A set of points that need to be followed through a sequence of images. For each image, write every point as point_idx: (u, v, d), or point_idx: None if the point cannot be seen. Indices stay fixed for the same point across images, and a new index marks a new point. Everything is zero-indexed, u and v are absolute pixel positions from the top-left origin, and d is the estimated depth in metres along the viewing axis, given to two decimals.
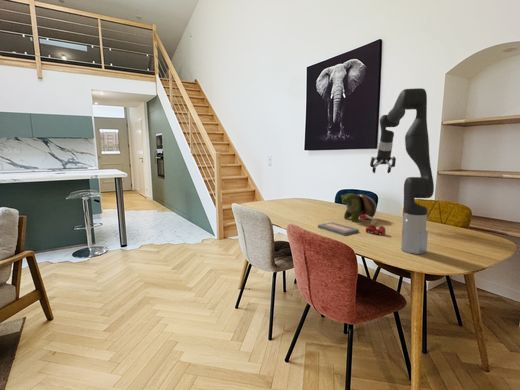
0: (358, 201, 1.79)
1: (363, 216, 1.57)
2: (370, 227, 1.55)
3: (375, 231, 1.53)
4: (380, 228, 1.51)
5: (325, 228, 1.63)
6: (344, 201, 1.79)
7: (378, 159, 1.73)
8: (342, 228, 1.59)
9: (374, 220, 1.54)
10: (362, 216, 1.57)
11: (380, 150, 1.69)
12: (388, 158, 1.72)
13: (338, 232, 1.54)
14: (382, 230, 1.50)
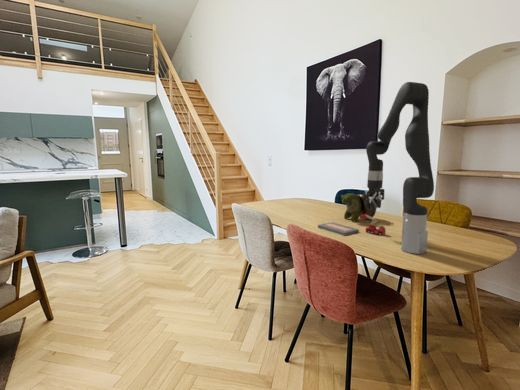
0: (358, 201, 1.79)
1: (363, 216, 1.57)
2: (370, 227, 1.55)
3: (375, 231, 1.53)
4: (380, 228, 1.51)
5: (325, 228, 1.63)
6: (344, 201, 1.79)
7: (372, 192, 1.50)
8: (342, 228, 1.59)
9: (374, 220, 1.54)
10: (362, 216, 1.57)
11: (374, 180, 1.48)
12: (379, 190, 1.53)
13: (338, 232, 1.54)
14: (382, 230, 1.50)
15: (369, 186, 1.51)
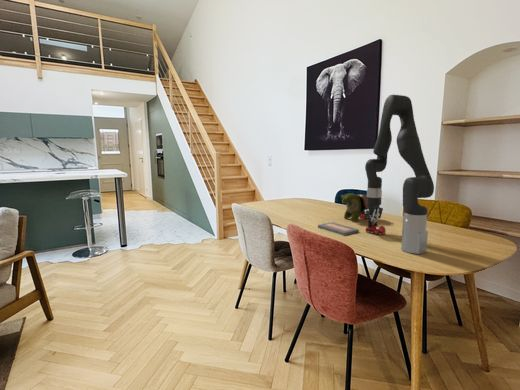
0: (358, 201, 1.79)
1: (363, 216, 1.56)
2: None
3: (375, 231, 1.53)
4: (380, 228, 1.51)
5: (325, 228, 1.63)
6: (344, 201, 1.79)
7: (371, 209, 1.51)
8: (342, 228, 1.59)
9: (374, 220, 1.54)
10: (362, 216, 1.57)
11: (373, 198, 1.50)
12: (378, 207, 1.54)
13: (338, 232, 1.54)
14: (382, 230, 1.50)
15: (368, 203, 1.52)
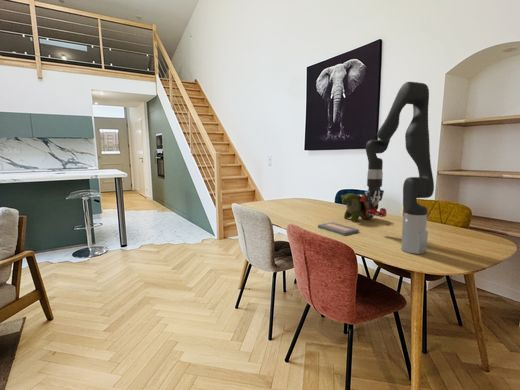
0: (358, 201, 1.79)
1: (364, 198, 1.55)
2: None
3: (376, 213, 1.51)
4: (381, 210, 1.49)
5: (325, 228, 1.63)
6: (344, 201, 1.79)
7: (372, 190, 1.50)
8: (342, 228, 1.59)
9: (375, 202, 1.52)
10: (363, 198, 1.55)
11: (374, 179, 1.48)
12: (379, 189, 1.53)
13: (338, 232, 1.54)
14: (383, 212, 1.49)
15: (369, 185, 1.50)
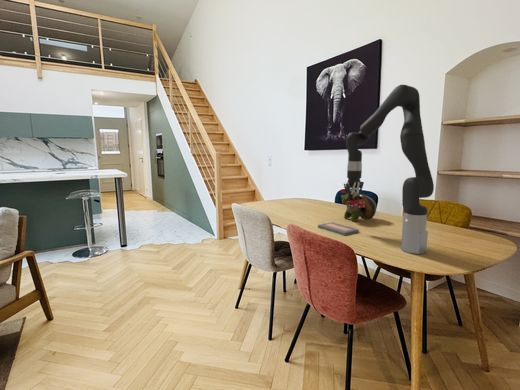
0: (358, 201, 1.79)
1: (344, 190, 1.59)
2: None
3: (355, 204, 1.55)
4: (360, 201, 1.53)
5: (325, 228, 1.63)
6: (344, 201, 1.79)
7: (351, 182, 1.54)
8: (342, 228, 1.59)
9: (354, 193, 1.56)
10: (343, 190, 1.59)
11: (353, 171, 1.52)
12: (358, 180, 1.56)
13: (338, 232, 1.54)
14: (361, 203, 1.53)
15: (348, 176, 1.54)
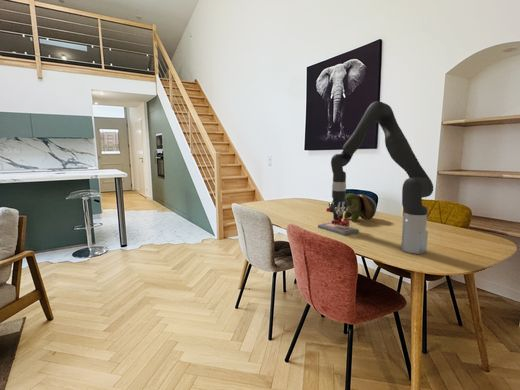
0: (358, 201, 1.79)
1: (329, 209, 1.63)
2: None
3: (340, 223, 1.60)
4: (344, 220, 1.57)
5: (325, 228, 1.63)
6: None
7: (336, 202, 1.58)
8: (342, 228, 1.59)
9: (339, 213, 1.60)
10: (328, 209, 1.64)
11: (337, 191, 1.56)
12: (343, 200, 1.61)
13: (338, 232, 1.54)
14: (346, 222, 1.57)
15: (333, 196, 1.58)
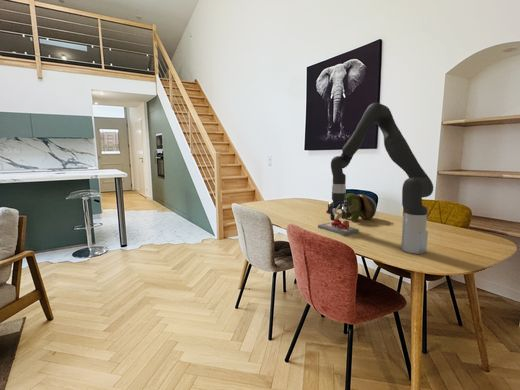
0: (358, 201, 1.79)
1: None
2: (335, 221, 1.61)
3: (340, 225, 1.60)
4: (344, 222, 1.57)
5: (325, 228, 1.63)
6: None
7: (335, 204, 1.58)
8: (342, 228, 1.59)
9: (339, 215, 1.60)
10: None
11: (337, 193, 1.56)
12: (343, 202, 1.61)
13: (338, 232, 1.54)
14: (346, 224, 1.57)
15: (333, 198, 1.59)
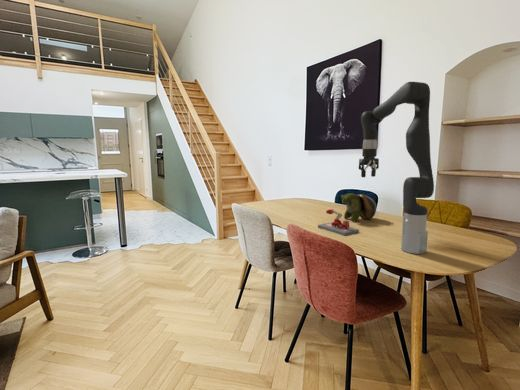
0: (358, 201, 1.79)
1: (329, 211, 1.63)
2: (335, 221, 1.61)
3: (340, 225, 1.60)
4: (344, 222, 1.57)
5: (325, 228, 1.63)
6: (344, 201, 1.79)
7: (367, 160, 1.57)
8: (342, 228, 1.59)
9: (339, 215, 1.60)
10: (328, 211, 1.64)
11: (369, 149, 1.55)
12: (373, 159, 1.60)
13: (338, 232, 1.54)
14: (346, 224, 1.57)
15: (364, 155, 1.57)
